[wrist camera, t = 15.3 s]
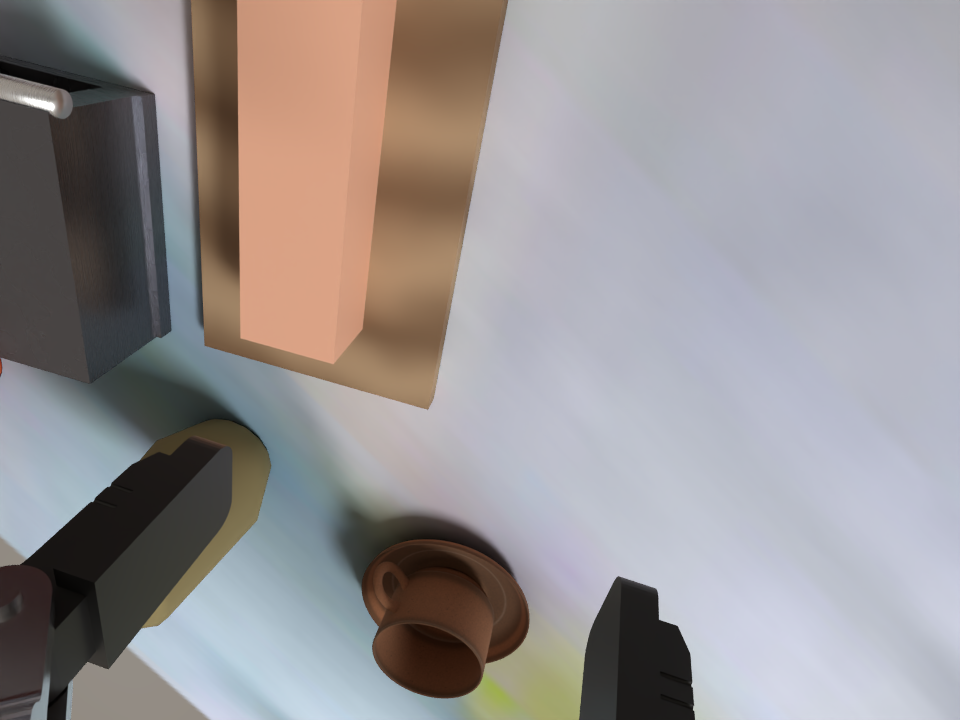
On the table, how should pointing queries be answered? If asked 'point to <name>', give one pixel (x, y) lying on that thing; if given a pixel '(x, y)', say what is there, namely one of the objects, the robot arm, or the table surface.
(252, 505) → the squeeze bottle
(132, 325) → the dispenser
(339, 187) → the block
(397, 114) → the board
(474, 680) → the cup and saucer
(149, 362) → the table surface
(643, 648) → the robot arm
